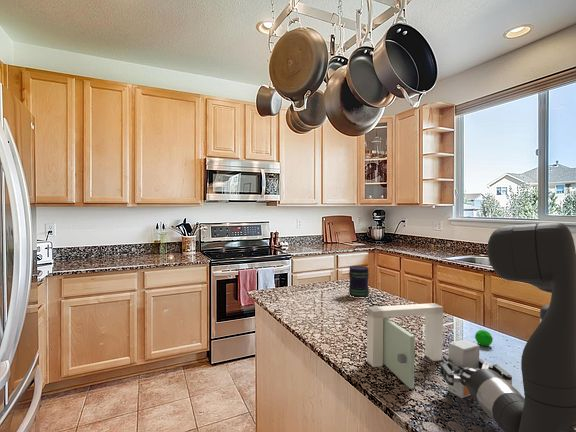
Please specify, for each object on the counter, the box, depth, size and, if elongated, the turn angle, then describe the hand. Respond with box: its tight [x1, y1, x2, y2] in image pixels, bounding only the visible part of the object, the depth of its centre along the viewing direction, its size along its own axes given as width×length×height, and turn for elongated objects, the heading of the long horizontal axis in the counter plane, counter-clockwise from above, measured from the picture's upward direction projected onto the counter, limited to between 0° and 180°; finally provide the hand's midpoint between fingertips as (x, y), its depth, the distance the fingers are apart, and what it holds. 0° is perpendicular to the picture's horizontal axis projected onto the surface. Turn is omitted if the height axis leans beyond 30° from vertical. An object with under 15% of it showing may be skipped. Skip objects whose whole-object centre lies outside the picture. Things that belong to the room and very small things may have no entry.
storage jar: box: [348, 265, 370, 298], centre depth 168 cm, size 10×10×15 cm
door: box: [383, 317, 416, 389], centre depth 89 cm, size 16×3×13 cm, turn 12°
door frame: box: [366, 302, 444, 368], centre depth 97 cm, size 22×4×16 cm, turn 102°
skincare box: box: [447, 339, 481, 399], centre depth 81 cm, size 6×4×12 cm
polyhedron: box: [474, 329, 494, 347], centre depth 109 cm, size 5×5×5 cm
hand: (459, 359), depth 83 cm, fingers closed on skincare box, 7 cm apart
